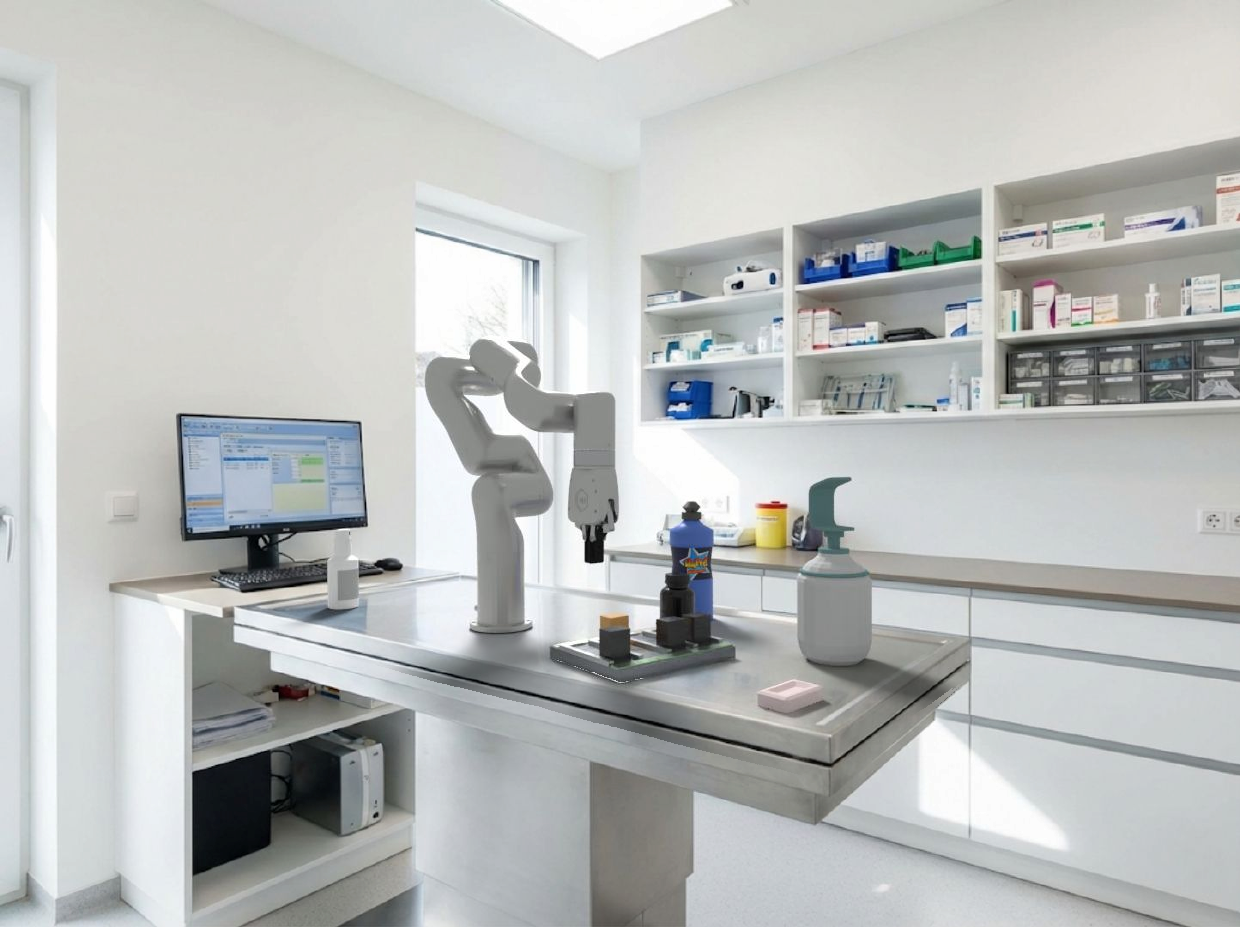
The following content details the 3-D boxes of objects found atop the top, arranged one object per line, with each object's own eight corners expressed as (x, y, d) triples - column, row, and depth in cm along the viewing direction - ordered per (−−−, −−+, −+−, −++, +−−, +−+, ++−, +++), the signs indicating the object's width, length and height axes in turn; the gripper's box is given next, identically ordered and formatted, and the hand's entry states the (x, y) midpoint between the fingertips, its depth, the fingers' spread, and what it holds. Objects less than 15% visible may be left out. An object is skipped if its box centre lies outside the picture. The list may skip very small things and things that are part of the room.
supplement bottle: (693, 640, 152) (692, 577, 152) (657, 639, 153) (656, 576, 153) (696, 632, 158) (696, 571, 158) (662, 631, 160) (662, 570, 160)
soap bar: (755, 707, 113) (755, 690, 113) (792, 694, 119) (792, 677, 119) (787, 716, 109) (787, 698, 109) (824, 702, 115) (824, 685, 115)
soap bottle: (827, 672, 129) (827, 478, 129) (782, 654, 141) (781, 476, 140) (887, 664, 134) (887, 477, 134) (839, 647, 146) (839, 475, 145)
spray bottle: (352, 610, 183) (352, 530, 183) (323, 610, 183) (322, 531, 183) (362, 604, 190) (362, 528, 189) (334, 604, 190) (333, 528, 190)
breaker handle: (600, 644, 140) (600, 615, 140) (618, 640, 143) (618, 612, 143) (610, 647, 138) (610, 618, 138) (628, 644, 140) (628, 615, 140)
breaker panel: (549, 657, 139) (549, 617, 139) (660, 637, 154) (660, 600, 154) (620, 683, 123) (620, 638, 123) (735, 658, 139) (735, 617, 138)
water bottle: (719, 622, 168) (718, 502, 167) (675, 624, 166) (675, 503, 166) (707, 613, 177) (706, 500, 177) (665, 615, 175) (665, 500, 175)
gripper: (554, 460, 148) (554, 559, 148) (602, 461, 136) (601, 569, 137) (587, 459, 153) (587, 556, 153) (636, 461, 141) (636, 565, 141)
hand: (594, 562), depth 145 cm, fingers closed
